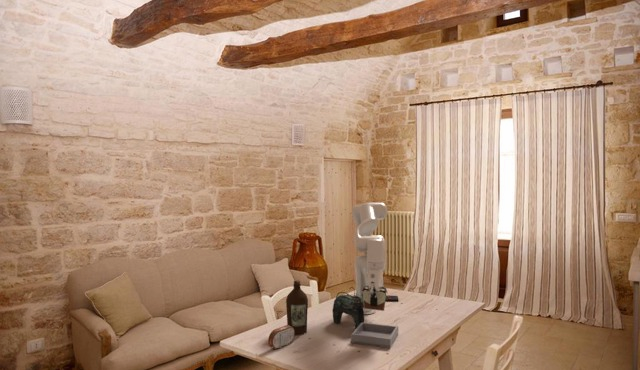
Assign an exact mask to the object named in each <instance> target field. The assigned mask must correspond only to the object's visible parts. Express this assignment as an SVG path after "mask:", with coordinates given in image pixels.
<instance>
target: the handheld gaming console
mask: <svg viewBox="0 0 640 370" xmlns="http://www.w3.org/2000/svg"><path fill="white" fill-rule="evenodd" d="M385 302H393V303H396V302H397V303H398V302H399V297H398V295H388V294H386V300H385Z"/></svg>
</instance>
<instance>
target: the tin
mask: <svg viewBox="0 0 640 370" xmlns="http://www.w3.org/2000/svg"><path fill="white" fill-rule="evenodd" d="M295 336H296V335H295V330H294V328H293V327H291V326H289V325H287V324H286V325H283V326H281V327H280V326H279V327H277V328H274V329H273V330H272V331H271V332H270V333H269V335H268V338H267V339H268V340H267V345H268V346H269V347H270V348H272V349H275V350H278V349H281V348H283V347H285V345H286V346H288V345H290V344H292V342H293V341H294V339H295ZM289 343H290V344H289ZM287 344H288V345H287ZM282 346H283V347H282ZM280 347H281V348H280ZM277 348H278V349H277Z"/></svg>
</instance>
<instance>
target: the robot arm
mask: <svg viewBox="0 0 640 370" xmlns="http://www.w3.org/2000/svg"><path fill="white" fill-rule="evenodd" d="M351 213H352V218H353V219H352V220H353V221H354V224H355V227H356V229H355V231H354V233H353V234H354V235H353V236H354V246H355V249H356V251H357V252H360V253H366V254H360V255H357V256H355V258H354V260H353V261H354V262H353V263H354V271H355V294H356V293H358V295H362V294H363V291H361V290H362V287H363V286H368V285H369V290H370V306H377V291H378V292H379V291H380V290H381V289H382V286H383V287H384V277H383V275H384V274H383V272H384V271H385V270H386V266H387V265H386V263H387V261H386V260H387V257H386V255H387V254H386V249H387V248H386V239H385V237H384V236H382V235H381V234H380V235H378V234H377V235H376V234H375V235H374V234H373V232H374V231H375V230H377V228H378V226H379V221H382V220H385V219H387V216H388V206H387V205H386V204H385V202H364V203H362V204H356V205H354V206H353V207H352V209H351ZM374 289H376V291H374ZM374 292H375V293H374ZM363 311H364V315H372V314H376V312H377V310H371V309H364V307H363Z"/></svg>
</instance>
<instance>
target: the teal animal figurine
mask: <svg viewBox="0 0 640 370" xmlns="http://www.w3.org/2000/svg"><path fill="white" fill-rule="evenodd" d="M351 289H353V292H354V293H353V295H352V294H349V293H347V292H345V291H341V292H338V293H337V294H336V298H335V299H334V301H333V304H332V305H333V306H332V320H333V321H332V322H333V323H334V324H336V325H338V324H341V323H342V317H343V314H345V315H348V316H351V317H352V319H353V322H354V329H356V328H357V327H358V326H359V325H360V324H361V323H362V322H363V323H365V314H364V311H363V307H364V302H363V294H362V295H358V293H356V288H354V287H353V286H351V287H350V288H349V290H351ZM342 293H343V294H342ZM340 294H341V295H340Z"/></svg>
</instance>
